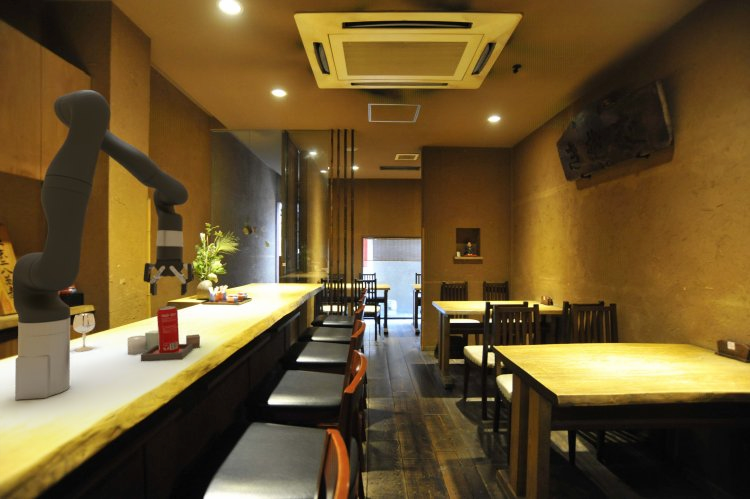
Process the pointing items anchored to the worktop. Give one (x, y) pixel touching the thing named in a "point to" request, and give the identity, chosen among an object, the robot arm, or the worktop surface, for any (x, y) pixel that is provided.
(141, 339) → the beige block
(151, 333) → the sage painted block
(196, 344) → the walnut block
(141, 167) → the robot arm
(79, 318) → the wineglass
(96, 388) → the worktop surface
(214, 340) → the worktop surface
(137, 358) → the worktop surface
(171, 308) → the beverage can
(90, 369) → the worktop surface
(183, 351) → the lacquer tray
